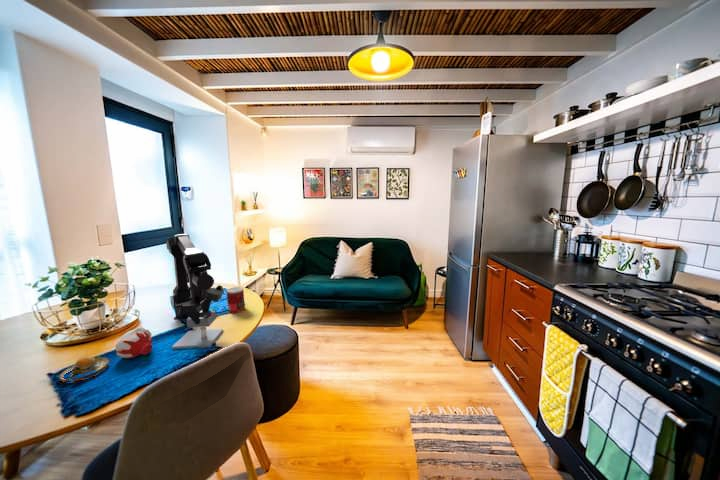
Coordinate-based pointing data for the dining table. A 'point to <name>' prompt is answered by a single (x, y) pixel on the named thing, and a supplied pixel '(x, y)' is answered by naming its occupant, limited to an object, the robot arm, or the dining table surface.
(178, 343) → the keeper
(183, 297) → the robot arm
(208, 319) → the link
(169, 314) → the dining table surface
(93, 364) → the ringed planet model
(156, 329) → the dining table surface
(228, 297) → the canned food
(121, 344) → the red white ovoid
